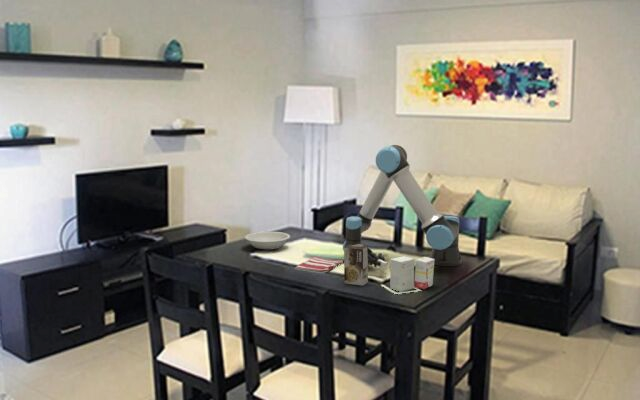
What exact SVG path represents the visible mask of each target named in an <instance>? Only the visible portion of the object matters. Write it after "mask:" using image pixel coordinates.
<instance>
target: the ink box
mask: <svg viewBox="0 0 640 400" xmlns="http://www.w3.org/2000/svg"><path fill="white" fill-rule="evenodd" d="M434 260H435V259H432V258H430V257H427V256H422V257H420V258H417V259H416V260H415V267H414V287H416V288H418V289H420V290H425V289H428V288H430V287H432V286H433V284H434V269H435V265H434Z"/></svg>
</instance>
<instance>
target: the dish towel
mask: <svg viewBox="0 0 640 400" xmlns="http://www.w3.org/2000/svg"><path fill="white" fill-rule="evenodd" d="M342 262H344V260H329V259H324V258H321V257H317V256H315V255H314V256H312V257H311V258H310V259H307V260H305V261H304V262H301V263H300V264H298V265H297V266H296V267H294V270H295V271H296V270H297V271H303V272H311V273H319V274H327V273H330V272H331V271H334V269H335V267H336V266H337V267H339V266H340V265H342V264H343V263H342ZM341 263H342V264H341ZM339 264H340V265H339ZM338 265H339V266H338ZM337 267H336V268H337ZM333 268H334V269H333Z"/></svg>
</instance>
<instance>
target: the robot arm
mask: <svg viewBox="0 0 640 400" xmlns="http://www.w3.org/2000/svg"><path fill="white" fill-rule="evenodd" d="M375 156H376V157H375V165H376V167H377V168H378V170H379V171H380V172H379V173H378V176H377V177H376V179H375V181H374V184H373V185H372V188H371V189H370V191H369V193H368V195H367V196H366V199H365V201H364V202H363V205H362V207H361V209H360V210H359V212H358V214H357V216H348V217H347V218H346V221H345V241H344V242H343V244H342V250H343V251H344V247H346V246H347V245H349V244H350V245H361V246H365V245H363V244H362V234H363V233H364V232H366V231H368V230H369V229H370V228H371V226H372V221H373V219H374V217H375V216H376V214H377V212H378V211H379V208H380V206H381V204H382V203H383V201H384V199H385V197H386V196H387V193H388V191H389V190H390V188H391V186H392V184H393V182H394V184H395V185H396V186H397V189H399V191H400V192H401V193H402V196H403V197H404V198H405V200H406V202H407V203H408V204H409V206H410V207H411V209H412V210H413V212H414V214H415V215H416V217H417V218H418V219H419V221H420V222H421V230H422V231H423V233H424V235H425V238H426V239H425V240H426V242H427V244H428V245H429V246H430V247H431V248H432V250H431V252H430V256H429V258H432V259H435V260H434V266H439V267H457V266H460V265H462V261H463V260H462V255H461V252H460V248H459V241H460V240H459V239H460V237H459V235H460V218H459V217H458V216H454V215H443V214H441V213H438V212H437V210H436V208H435V207H434V205H433V204H432V202H431V201H430V199H429V198H428V197H427V195H426V194H425V192H424V190H423V189H422V188H421V186H420V185H419V183H418V181H417V180H416V179H415V177H414V176H413V174H412V172H411V171H410V165H411V164H410V163H409V161H408V153H407V151H406V150H405V148H404V147H402V146H401V145H399V144H392V145H387V146H384V147H382V148H380V150H379V151H378V152H377V154H376V155H375ZM368 266H374V267H375V268H377V267H379V268H381V269H383V270H387V269H388V262H387V261H386V258H385V257H384V256H383V255H382V253H378V254H377V253H374V252H373V250H372V249H371V248H369V247H368Z"/></svg>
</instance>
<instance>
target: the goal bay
mask: <svg viewBox="0 0 640 400" xmlns="http://www.w3.org/2000/svg"><path fill="white" fill-rule="evenodd" d="M380 286H381V287H382V288H383V287H384V289H385V290H387V291H389V293H392V294H393V293H394V294H393V295H395V294H398V295H403V294H402V293H406V294H411V293H410V292H414V293H419V292H418V291H421V292H422V291H423V289H421V288H416V287H414V289H413V290H407V291H403V292H398V291H395V290H392V289H390V287H388V286H386V285H385V284H380ZM415 289H416V290H415Z"/></svg>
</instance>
